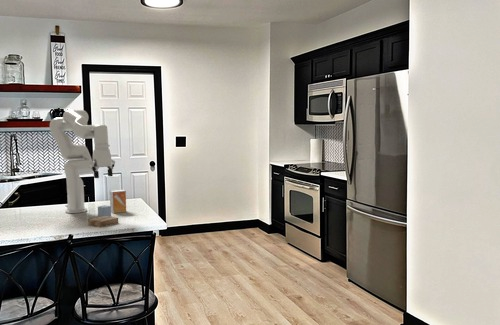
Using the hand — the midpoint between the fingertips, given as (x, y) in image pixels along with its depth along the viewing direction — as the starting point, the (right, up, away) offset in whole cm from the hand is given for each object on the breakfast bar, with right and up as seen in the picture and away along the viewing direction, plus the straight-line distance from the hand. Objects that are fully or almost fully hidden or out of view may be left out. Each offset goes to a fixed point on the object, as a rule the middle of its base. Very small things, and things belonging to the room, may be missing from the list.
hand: (103, 177), depth 261 cm
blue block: (0, -24, +1) cm, 24 cm away
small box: (+3, -22, +20) cm, 30 cm away
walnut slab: (+4, -25, -13) cm, 28 cm away
